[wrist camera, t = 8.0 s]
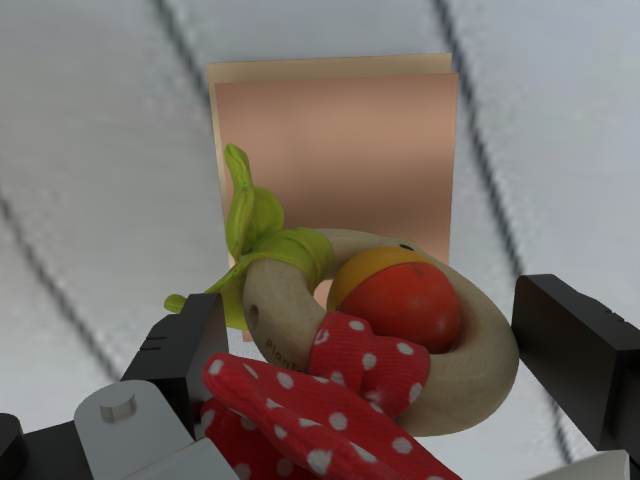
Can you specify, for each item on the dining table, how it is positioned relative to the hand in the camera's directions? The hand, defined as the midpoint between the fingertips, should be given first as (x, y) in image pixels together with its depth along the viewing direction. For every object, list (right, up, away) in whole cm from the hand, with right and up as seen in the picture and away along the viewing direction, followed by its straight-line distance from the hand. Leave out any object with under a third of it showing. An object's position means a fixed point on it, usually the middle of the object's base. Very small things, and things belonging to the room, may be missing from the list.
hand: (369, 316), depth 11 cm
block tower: (-1, +5, +16) cm, 17 cm away
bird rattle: (-1, +2, +4) cm, 5 cm away
